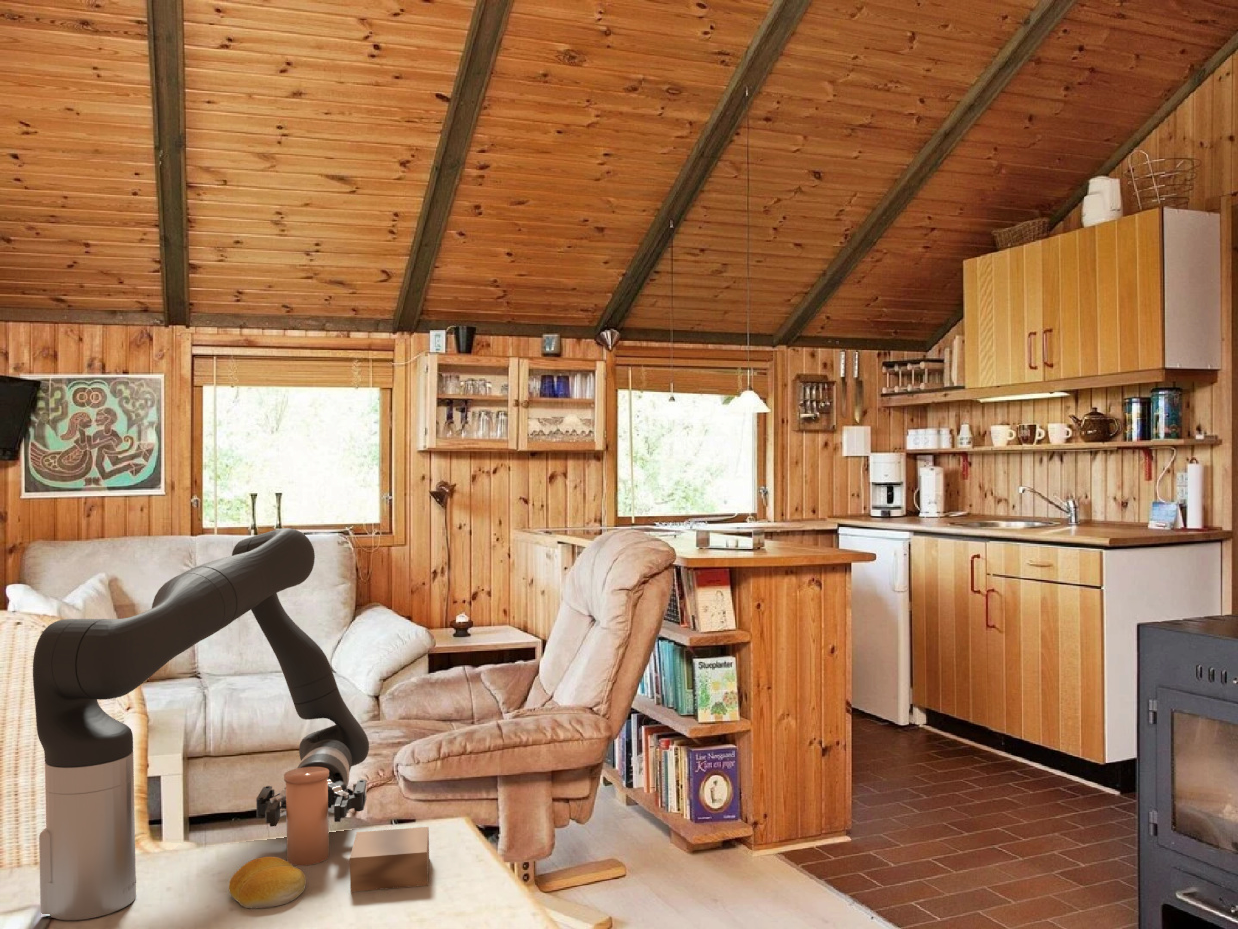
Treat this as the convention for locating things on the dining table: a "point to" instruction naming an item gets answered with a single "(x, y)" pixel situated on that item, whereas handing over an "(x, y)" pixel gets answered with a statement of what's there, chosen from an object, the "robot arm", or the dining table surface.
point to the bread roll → (266, 883)
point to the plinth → (390, 859)
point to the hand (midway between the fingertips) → (305, 816)
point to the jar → (307, 815)
